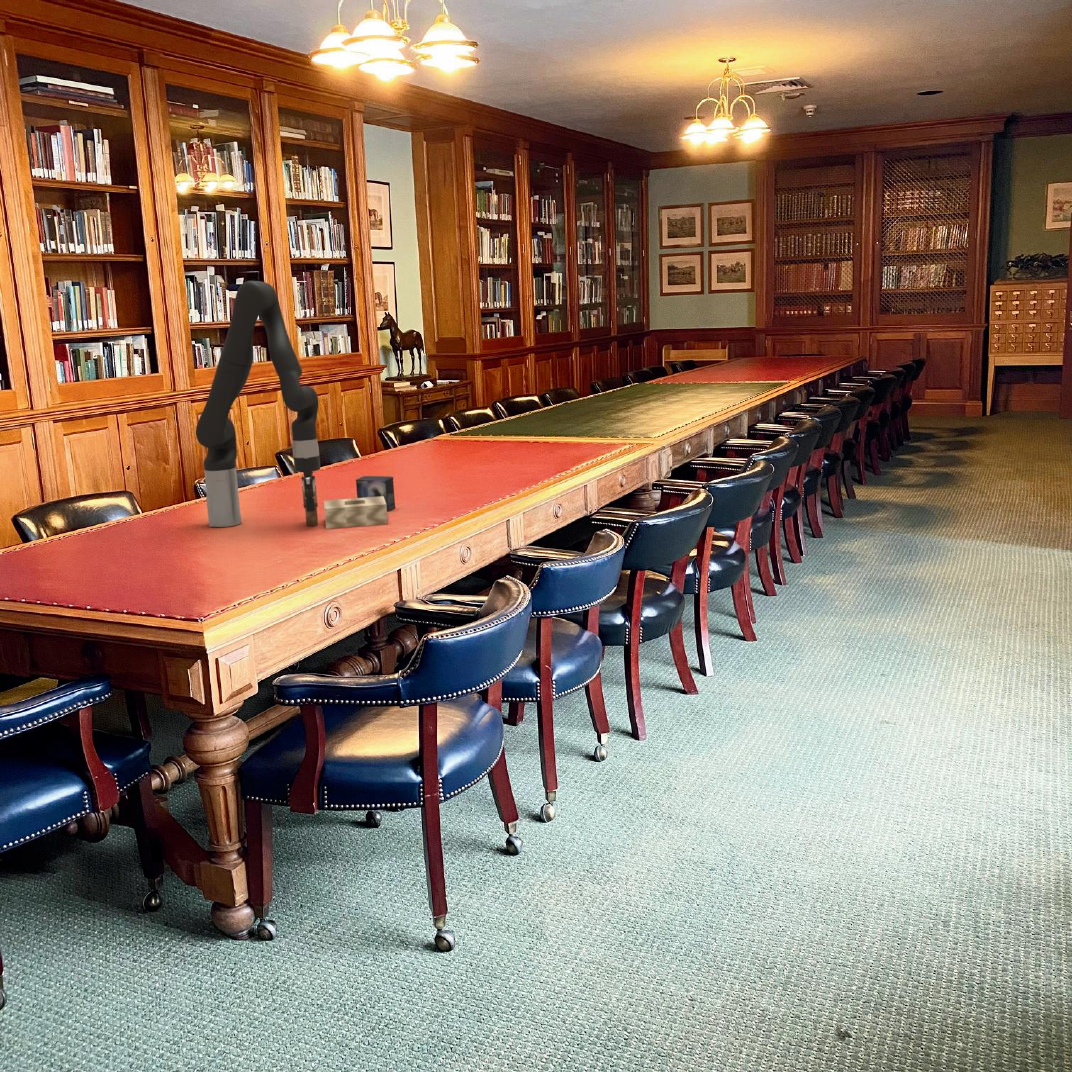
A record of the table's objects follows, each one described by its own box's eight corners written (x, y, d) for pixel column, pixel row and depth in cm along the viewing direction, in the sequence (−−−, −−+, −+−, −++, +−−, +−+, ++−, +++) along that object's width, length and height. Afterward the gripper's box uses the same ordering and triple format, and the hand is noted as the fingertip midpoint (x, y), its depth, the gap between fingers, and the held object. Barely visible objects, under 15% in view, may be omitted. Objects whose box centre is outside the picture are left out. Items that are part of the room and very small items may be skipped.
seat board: (326, 528, 311) (324, 508, 310) (325, 519, 325) (324, 500, 323) (387, 524, 315) (386, 504, 313) (384, 515, 328) (383, 496, 327)
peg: (305, 527, 315) (301, 487, 312) (305, 524, 319) (301, 485, 316) (319, 526, 316) (316, 486, 313) (319, 523, 320) (316, 484, 317)
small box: (357, 511, 336) (354, 479, 333) (366, 507, 342) (363, 475, 339) (387, 512, 333) (385, 479, 330) (396, 508, 339) (393, 476, 336)
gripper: (293, 452, 319) (298, 505, 322) (292, 458, 305) (297, 514, 309) (319, 450, 320) (323, 503, 324) (319, 457, 306) (323, 512, 310)
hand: (311, 508), depth 316 cm, fingers open, 8 cm apart
